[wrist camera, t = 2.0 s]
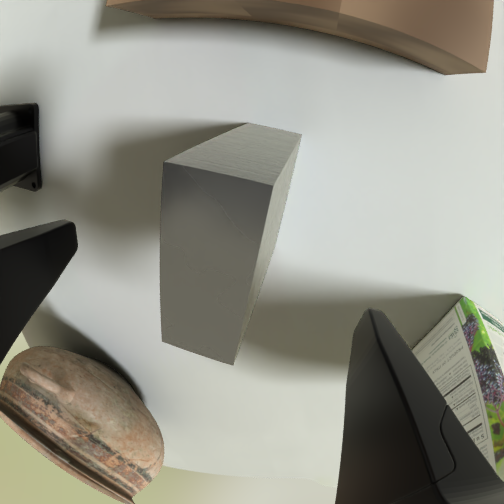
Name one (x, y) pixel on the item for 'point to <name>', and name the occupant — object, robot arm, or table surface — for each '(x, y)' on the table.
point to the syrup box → (470, 373)
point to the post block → (361, 24)
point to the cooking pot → (82, 419)
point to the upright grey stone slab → (221, 235)
